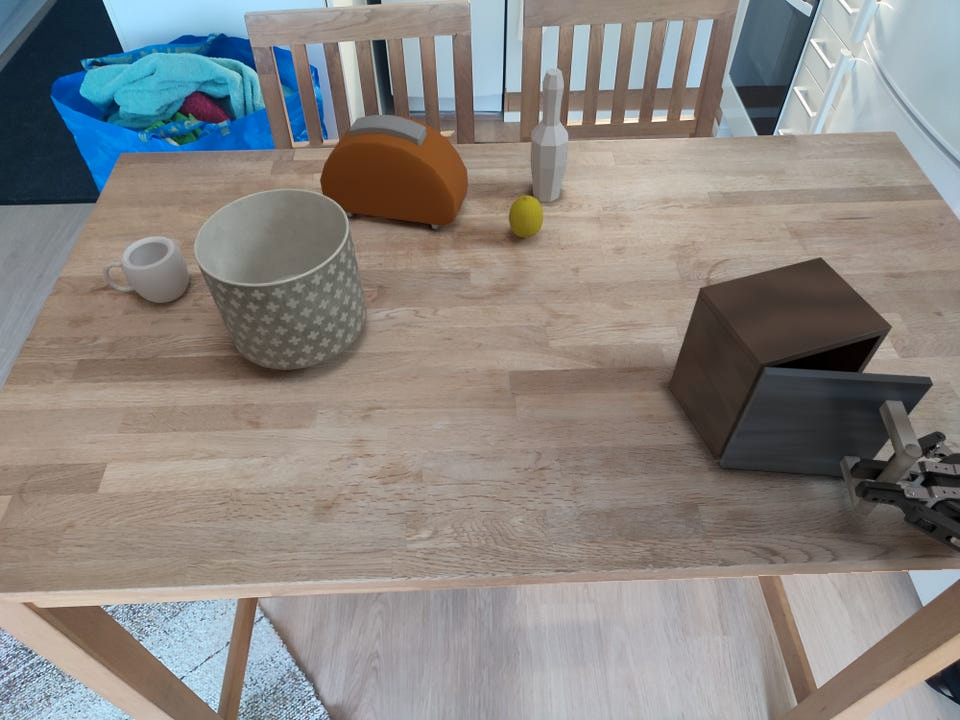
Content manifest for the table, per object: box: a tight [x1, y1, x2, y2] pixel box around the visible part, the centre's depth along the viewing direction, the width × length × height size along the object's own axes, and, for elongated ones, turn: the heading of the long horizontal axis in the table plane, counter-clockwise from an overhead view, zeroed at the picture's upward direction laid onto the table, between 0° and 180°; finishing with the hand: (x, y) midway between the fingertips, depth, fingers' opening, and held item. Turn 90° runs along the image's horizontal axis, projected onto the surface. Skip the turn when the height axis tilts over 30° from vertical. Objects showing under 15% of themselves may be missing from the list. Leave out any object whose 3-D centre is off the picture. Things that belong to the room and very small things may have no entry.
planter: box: [193, 188, 368, 371], centre depth 89 cm, size 19×19×18 cm
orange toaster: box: [319, 114, 469, 230], centre depth 108 cm, size 23×9×17 cm, turn 76°
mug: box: [102, 235, 190, 304], centre depth 99 cm, size 12×8×8 cm
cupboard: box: [668, 257, 893, 460], centre depth 79 cm, size 12×16×18 cm
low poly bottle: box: [530, 67, 569, 203], centre depth 108 cm, size 6×6×22 cm
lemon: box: [508, 194, 544, 239], centre depth 106 cm, size 6×6×8 cm
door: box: [719, 367, 934, 517], centre depth 70 cm, size 8×16×18 cm, turn 84°
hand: (856, 479), depth 68 cm, fingers closed, pressing on door
